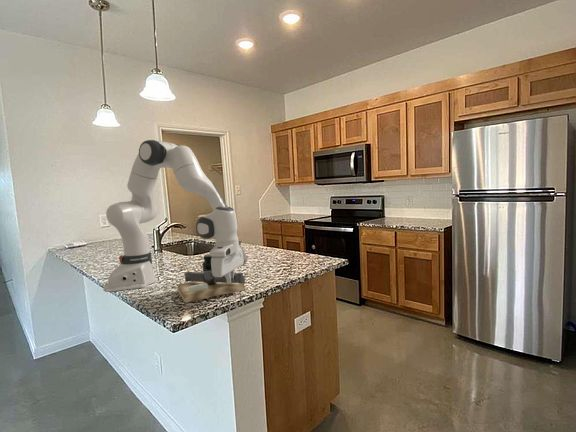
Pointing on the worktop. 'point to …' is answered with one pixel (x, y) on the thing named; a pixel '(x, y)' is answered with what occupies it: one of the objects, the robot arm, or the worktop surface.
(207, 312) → the worktop surface
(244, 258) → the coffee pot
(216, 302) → the worktop surface
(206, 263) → the supplement bottle
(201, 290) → the levelling stand
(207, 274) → the dark grey bar
